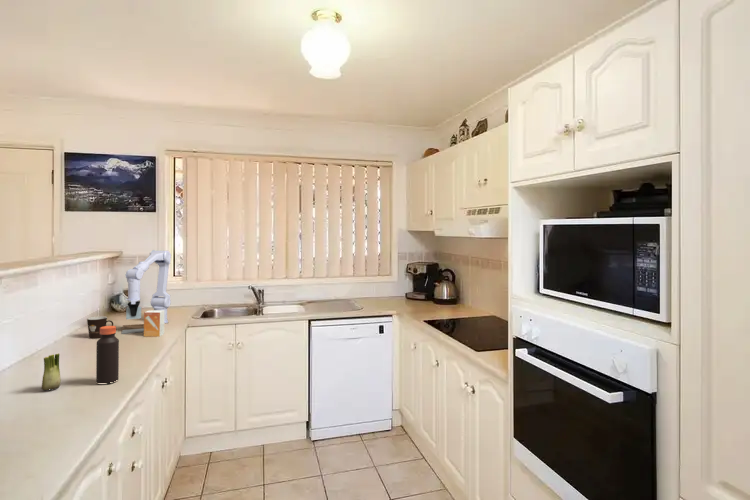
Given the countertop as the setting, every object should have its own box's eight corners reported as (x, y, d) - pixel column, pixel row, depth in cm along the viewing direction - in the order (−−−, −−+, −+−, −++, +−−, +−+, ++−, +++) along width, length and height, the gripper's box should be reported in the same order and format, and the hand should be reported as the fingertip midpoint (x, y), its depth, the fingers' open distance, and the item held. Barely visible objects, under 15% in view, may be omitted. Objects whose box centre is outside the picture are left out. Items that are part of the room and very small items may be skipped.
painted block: (126, 318, 223) (126, 307, 222) (141, 317, 226) (141, 306, 226) (126, 319, 219) (126, 308, 219) (141, 318, 223) (141, 307, 223)
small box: (143, 336, 212) (143, 312, 212) (148, 334, 218) (148, 310, 218) (159, 336, 213) (160, 312, 213) (164, 334, 219) (164, 310, 219)
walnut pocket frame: (122, 327, 232) (123, 325, 232) (147, 325, 238) (147, 323, 238) (121, 330, 224) (121, 328, 224) (146, 328, 230) (146, 326, 230)
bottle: (101, 386, 143) (102, 330, 142) (92, 382, 146) (92, 327, 146) (122, 381, 148) (122, 326, 148) (112, 377, 152) (113, 324, 151)
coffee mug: (82, 338, 207) (82, 318, 206) (99, 334, 215) (99, 315, 214) (98, 340, 202) (98, 320, 202) (114, 337, 210) (114, 317, 210)
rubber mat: (122, 330, 224) (122, 329, 224) (145, 329, 229) (145, 328, 229) (121, 334, 217) (121, 333, 217) (145, 332, 222) (145, 331, 222)
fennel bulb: (58, 385, 143) (58, 351, 142) (64, 388, 140) (65, 354, 140) (38, 390, 138) (38, 355, 137) (44, 393, 135) (44, 358, 135)
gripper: (126, 289, 227) (126, 313, 227) (124, 292, 214) (124, 318, 214) (141, 289, 230) (140, 312, 230) (139, 292, 217) (139, 317, 218)
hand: (133, 315), depth 223 cm, fingers closed on painted block, 4 cm apart
